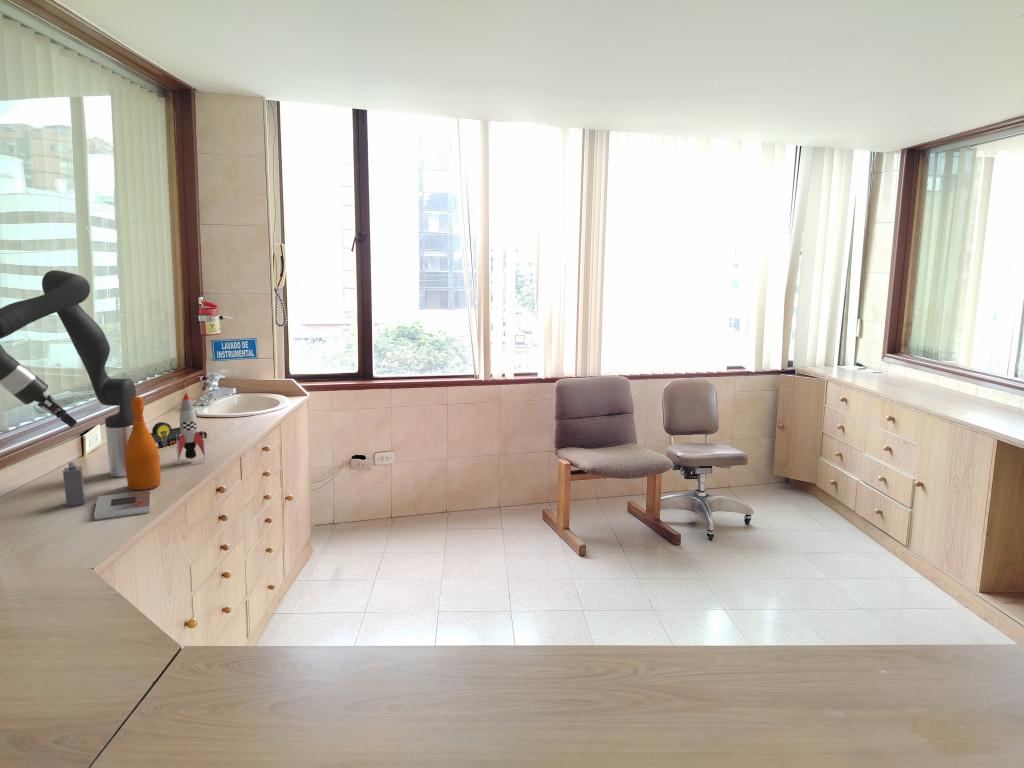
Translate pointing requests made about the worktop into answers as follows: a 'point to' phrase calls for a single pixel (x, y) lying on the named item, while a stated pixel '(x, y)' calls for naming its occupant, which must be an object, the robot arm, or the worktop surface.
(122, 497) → the socket
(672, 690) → the worktop surface
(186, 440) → the toy
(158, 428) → the decorative sign
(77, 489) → the plug
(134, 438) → the wine bottle
